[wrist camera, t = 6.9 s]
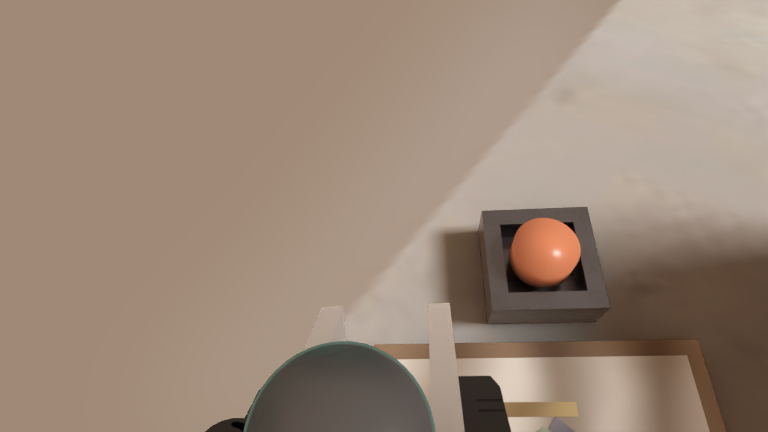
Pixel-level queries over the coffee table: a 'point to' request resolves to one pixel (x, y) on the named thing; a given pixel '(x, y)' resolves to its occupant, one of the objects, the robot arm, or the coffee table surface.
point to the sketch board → (587, 383)
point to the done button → (544, 252)
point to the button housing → (531, 304)
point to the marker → (341, 393)
